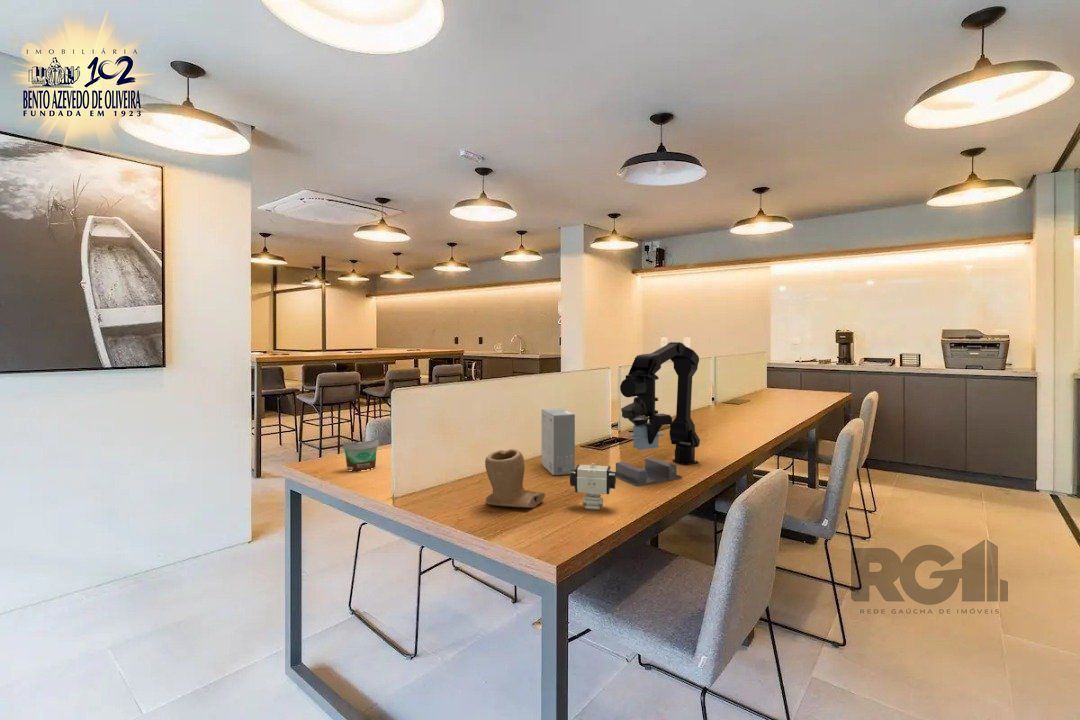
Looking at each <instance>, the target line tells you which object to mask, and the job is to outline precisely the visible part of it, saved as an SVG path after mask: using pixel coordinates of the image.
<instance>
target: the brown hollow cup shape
mask: <svg viewBox="0 0 1080 720" xmlns="http://www.w3.org/2000/svg"><path fill="white" fill-rule="evenodd" d="M484 463H485V464H484V465H485V470H486V471H485V472H486V474H487V478H488V480H489V483H490V485H491V488H492V493H491V494H489V495H487V496H486V497H485V503H486V504H487V505H489V506H498V507H509V508H510V507H511V508H512V507H513V508H528V509H529V508H536V507H537V506H538V505H539V504H541V502H542V501H543V500H544V498H545V497H546V493H545V492H543V491H531V490H525V488H524V484H523V483H524V476H525V470H526V469H525V458H524V456H523V454H522V452H521V451H520V450H518V449H514V448H512V449H511V448H510V449H507V450H502V449H501V450H496V451H493V452H492V453H490V454H488V455H487V456H486V458H485V461H484Z"/></svg>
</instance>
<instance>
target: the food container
mask: <svg viewBox="0 0 1080 720" xmlns="http://www.w3.org/2000/svg"><path fill="white" fill-rule="evenodd" d="M379 445H380V443H379V440H378V438H377V437H375V439H374V440H366V441H365V440H362V441H357V442H351V443H349V442H343V444H342V450H343V449H344V456H345V461H346V469H347V470H352V471H361V470H367V469H371V468H374V467H375V468H376V464H377V463H376V461H377V450H378V449H377V448H378V446H379ZM375 468H374V469H375Z"/></svg>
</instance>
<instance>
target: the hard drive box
mask: <svg viewBox="0 0 1080 720" xmlns="http://www.w3.org/2000/svg"><path fill="white" fill-rule="evenodd" d="M540 414H541V465H542V466H543V467H544V468H545V469H546V470H547V471H548V472H549V474H551V475H552V476H561V475H563V476H564V475H570V472H571V470H575V468H576V462H575V461H576V460H575V459H576V455H575V454H576V450H575V449H576V447H575V446H576V445H575V443H576V442H575V441H576V440H575V438H576V432H575V428H576V425H575V423H576V420H575V419H576V414H574V413H573V412H571V411H567V410H565V409H563V408H547V409H546V408H545V409H544V408H543V409H541V413H540Z"/></svg>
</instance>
